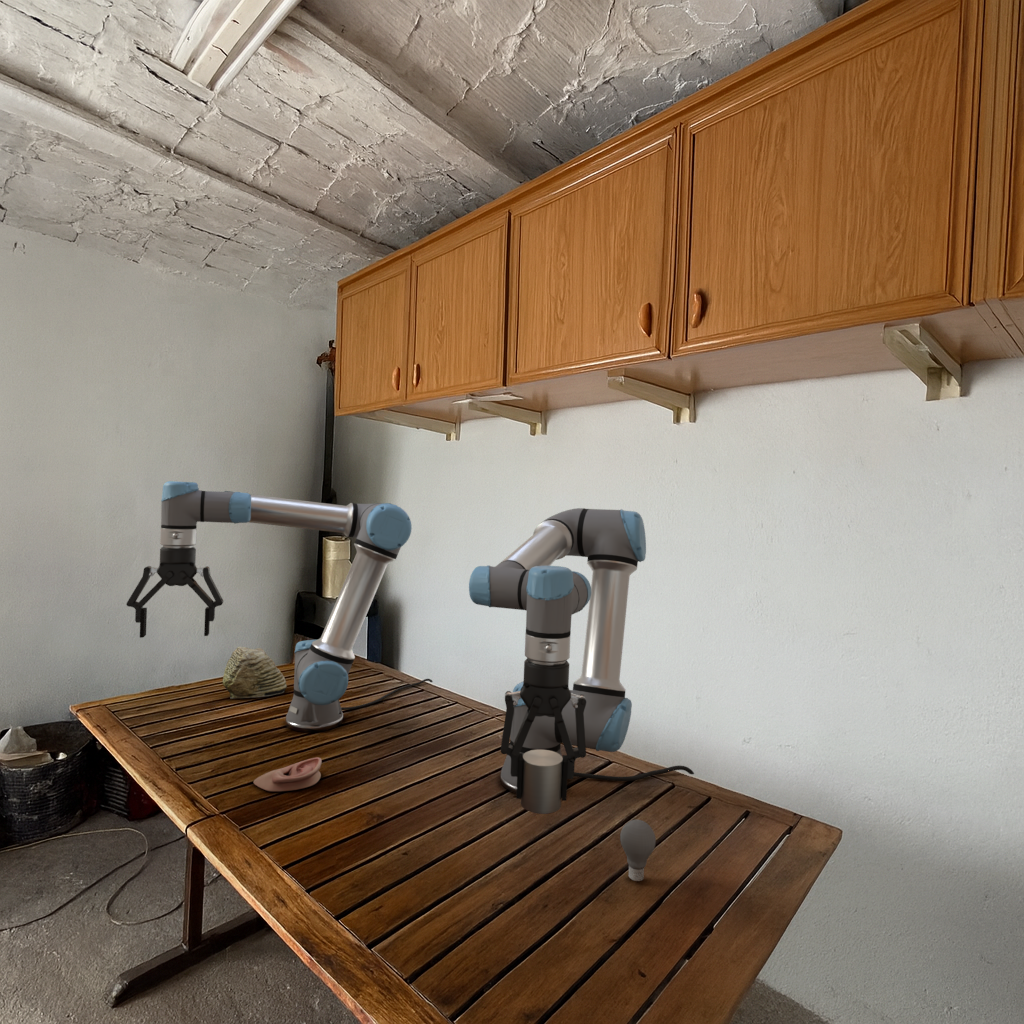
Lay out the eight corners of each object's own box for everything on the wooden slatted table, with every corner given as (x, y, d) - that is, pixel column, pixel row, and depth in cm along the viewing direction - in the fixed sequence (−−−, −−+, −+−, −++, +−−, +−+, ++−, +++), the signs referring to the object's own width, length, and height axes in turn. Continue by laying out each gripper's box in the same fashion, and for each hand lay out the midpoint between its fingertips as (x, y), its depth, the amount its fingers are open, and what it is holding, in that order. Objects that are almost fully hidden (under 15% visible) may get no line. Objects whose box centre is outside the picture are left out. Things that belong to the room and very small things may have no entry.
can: (512, 800, 107) (514, 754, 107) (544, 791, 111) (546, 746, 110) (537, 818, 101) (539, 769, 101) (569, 807, 105) (571, 760, 105)
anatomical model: (245, 769, 136) (276, 749, 147) (245, 787, 136) (275, 766, 147) (302, 777, 133) (328, 756, 144) (301, 796, 133) (328, 773, 144)
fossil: (218, 695, 195) (220, 647, 195) (278, 685, 208) (279, 640, 207) (228, 703, 189) (230, 653, 188) (289, 692, 201) (290, 645, 201)
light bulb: (614, 869, 112) (617, 812, 111) (647, 868, 112) (650, 813, 112) (623, 890, 106) (626, 830, 105) (658, 889, 106) (661, 830, 106)
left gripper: (113, 546, 143) (110, 640, 143) (233, 548, 150) (230, 637, 151) (122, 544, 150) (119, 633, 150) (236, 546, 158) (233, 630, 158)
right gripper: (486, 662, 102) (480, 804, 102) (609, 668, 102) (603, 809, 102) (488, 651, 109) (483, 783, 110) (603, 656, 109) (597, 788, 110)
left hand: (175, 635), depth 150 cm, fingers open, 13 cm apart
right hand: (541, 795), depth 106 cm, fingers closed on can, 7 cm apart
